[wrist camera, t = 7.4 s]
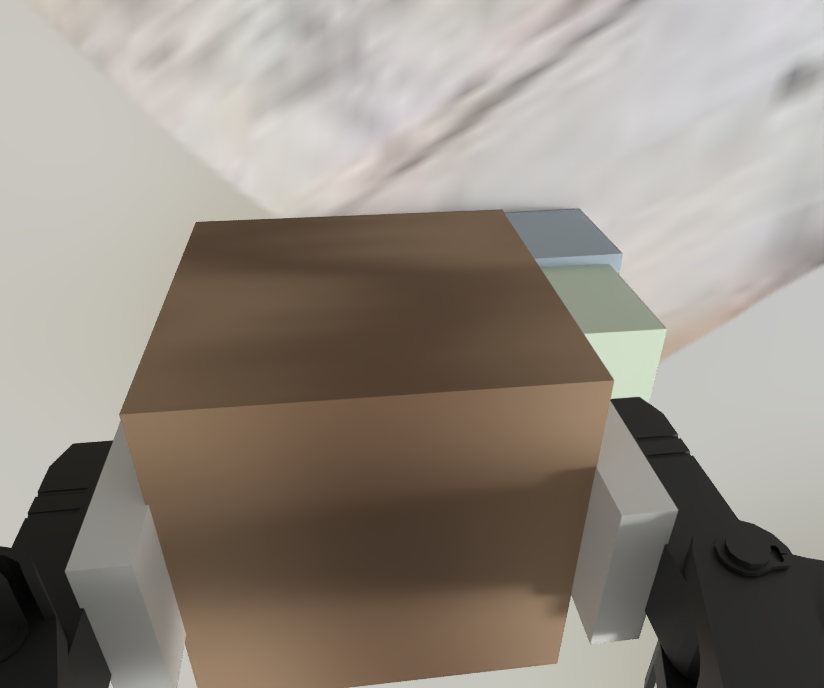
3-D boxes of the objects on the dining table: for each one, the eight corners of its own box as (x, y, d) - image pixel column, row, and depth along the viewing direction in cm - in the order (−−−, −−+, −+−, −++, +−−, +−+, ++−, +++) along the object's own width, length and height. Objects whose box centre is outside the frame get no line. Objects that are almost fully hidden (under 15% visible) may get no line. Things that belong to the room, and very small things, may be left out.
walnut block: (237, 458, 16) (202, 704, 11) (195, 221, 13) (119, 414, 8) (483, 439, 17) (557, 663, 12) (501, 209, 13) (614, 380, 8)
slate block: (431, 344, 40) (448, 405, 34) (432, 215, 35) (453, 263, 30) (562, 334, 40) (598, 392, 35) (579, 208, 36) (622, 253, 31)
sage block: (455, 395, 34) (481, 476, 29) (462, 270, 30) (492, 339, 25) (587, 386, 35) (633, 463, 30) (609, 264, 31) (667, 328, 26)
